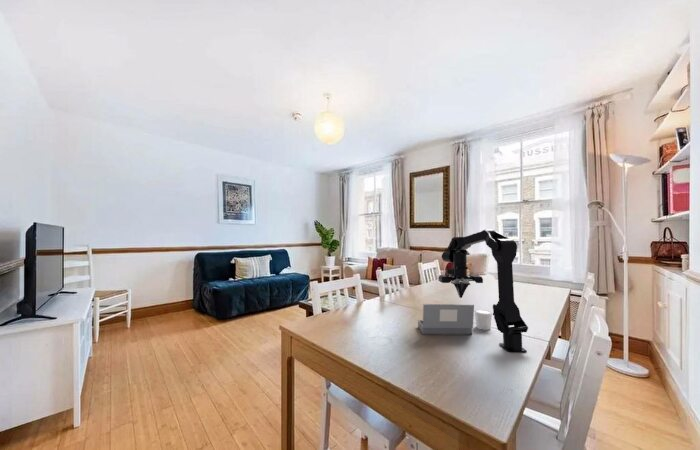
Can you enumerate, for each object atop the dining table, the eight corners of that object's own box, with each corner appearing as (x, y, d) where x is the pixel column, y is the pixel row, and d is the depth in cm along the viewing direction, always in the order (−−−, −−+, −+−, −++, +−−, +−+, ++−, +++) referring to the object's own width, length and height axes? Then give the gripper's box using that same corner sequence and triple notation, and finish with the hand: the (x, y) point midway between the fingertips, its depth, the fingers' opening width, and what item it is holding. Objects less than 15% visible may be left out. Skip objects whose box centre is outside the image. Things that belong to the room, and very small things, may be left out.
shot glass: (495, 330, 115) (494, 314, 116) (479, 330, 116) (478, 313, 116) (487, 324, 122) (487, 309, 123) (472, 324, 122) (472, 309, 123)
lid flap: (472, 327, 110) (472, 328, 110) (422, 327, 111) (423, 328, 110) (473, 304, 109) (474, 305, 108) (423, 304, 109) (423, 304, 109)
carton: (471, 334, 110) (471, 327, 110) (423, 334, 111) (423, 327, 111) (463, 327, 119) (463, 320, 119) (418, 327, 120) (418, 320, 120)
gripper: (472, 262, 133) (473, 293, 132) (434, 262, 133) (435, 293, 133) (483, 264, 122) (483, 299, 121) (442, 264, 122) (442, 299, 122)
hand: (460, 297), depth 124 cm, fingers closed
